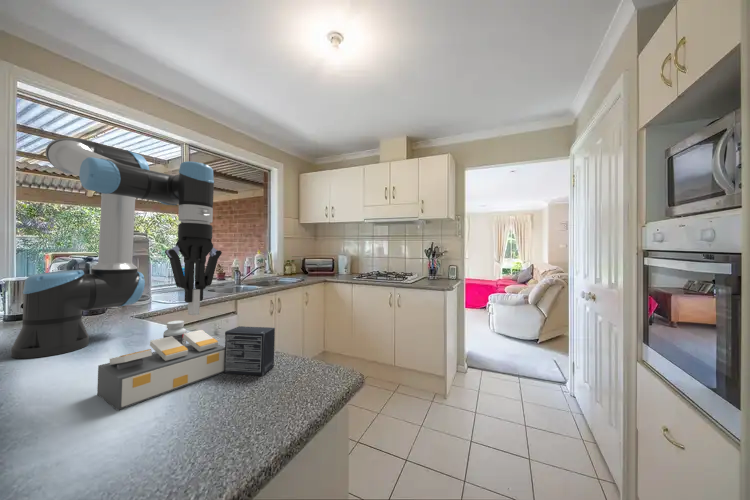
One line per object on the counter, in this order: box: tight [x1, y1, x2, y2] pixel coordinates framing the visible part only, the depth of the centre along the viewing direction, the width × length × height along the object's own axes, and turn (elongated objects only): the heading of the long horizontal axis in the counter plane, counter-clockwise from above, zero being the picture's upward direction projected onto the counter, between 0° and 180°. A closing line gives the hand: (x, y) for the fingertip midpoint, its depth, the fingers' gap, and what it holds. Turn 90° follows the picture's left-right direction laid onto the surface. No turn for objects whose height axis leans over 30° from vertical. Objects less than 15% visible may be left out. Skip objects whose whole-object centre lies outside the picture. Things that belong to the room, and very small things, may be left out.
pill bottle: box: [162, 320, 187, 345], centre depth 80 cm, size 5×5×10 cm
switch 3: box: [183, 329, 219, 352], centre depth 70 cm, size 8×4×1 cm, turn 59°
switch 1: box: [109, 348, 153, 365], centre depth 58 cm, size 8×4×1 cm, turn 60°
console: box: [96, 343, 225, 411], centre depth 64 cm, size 11×21×7 cm, turn 149°
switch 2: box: [149, 336, 188, 361], centre depth 64 cm, size 8×4×1 cm, turn 59°
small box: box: [223, 325, 276, 377], centre depth 72 cm, size 11×6×10 cm, turn 84°
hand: (193, 314), depth 72 cm, fingers closed
